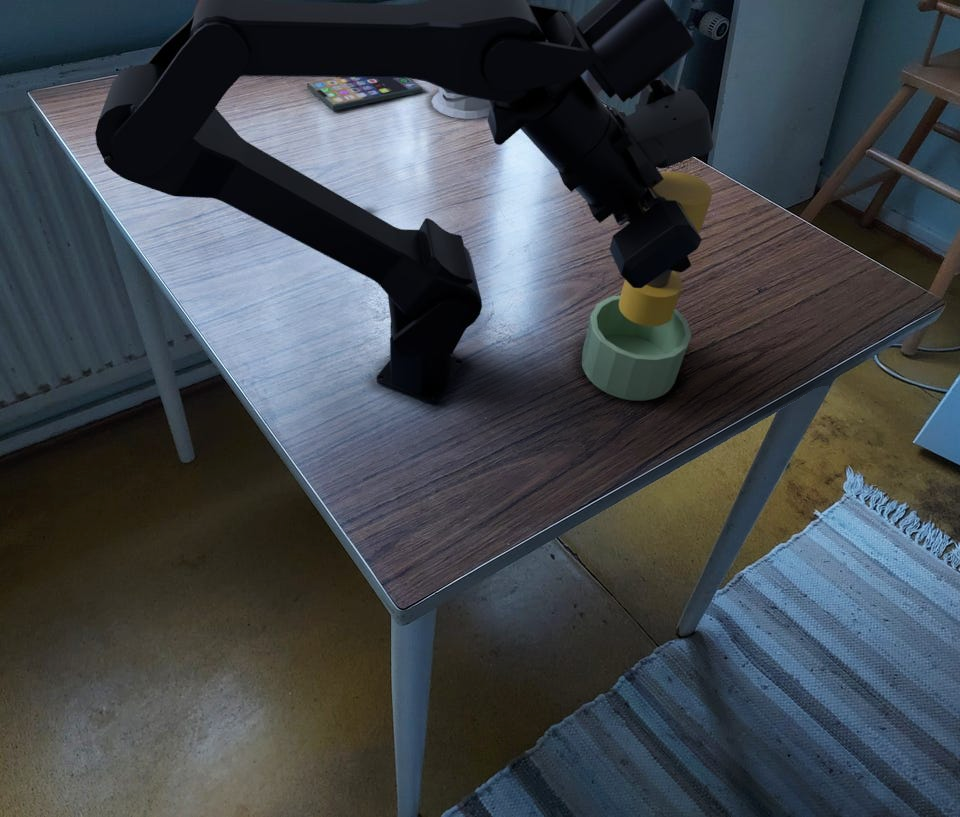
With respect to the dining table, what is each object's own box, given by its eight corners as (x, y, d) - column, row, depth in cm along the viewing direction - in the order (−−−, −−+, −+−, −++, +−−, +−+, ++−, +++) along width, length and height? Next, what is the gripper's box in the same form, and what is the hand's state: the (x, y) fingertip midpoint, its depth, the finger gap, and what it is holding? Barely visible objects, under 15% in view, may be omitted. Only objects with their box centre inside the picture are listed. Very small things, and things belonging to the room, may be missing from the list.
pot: (662, 413, 75) (676, 372, 71) (568, 380, 77) (577, 338, 73) (686, 354, 81) (700, 312, 77) (598, 324, 84) (608, 283, 80)
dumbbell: (622, 324, 73) (655, 202, 63) (615, 290, 76) (646, 169, 67) (677, 328, 73) (718, 206, 64) (667, 293, 77) (705, 173, 67)
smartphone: (422, 92, 118) (422, 84, 117) (333, 113, 112) (332, 105, 111) (394, 71, 123) (394, 63, 122) (307, 90, 116) (306, 82, 115)
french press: (431, 86, 120) (437, -103, 102) (507, 91, 121) (525, -96, 103) (431, 117, 113) (437, -80, 95) (511, 121, 114) (532, -74, 96)
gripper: (712, 124, 51) (804, 259, 61) (631, 13, 63) (718, 140, 73) (575, 229, 55) (681, 340, 65) (524, 106, 68) (620, 214, 78)
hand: (676, 251), depth 70 cm, fingers closed on dumbbell, 5 cm apart
